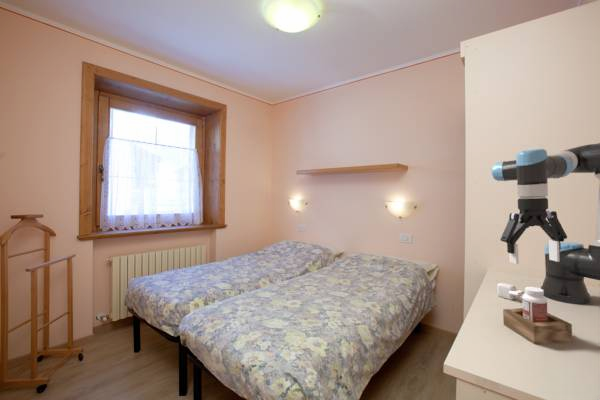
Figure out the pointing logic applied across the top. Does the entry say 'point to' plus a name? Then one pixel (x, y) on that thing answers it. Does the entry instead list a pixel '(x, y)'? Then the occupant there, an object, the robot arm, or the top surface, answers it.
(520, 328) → the wooden box
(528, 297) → the pill bottle
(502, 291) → the power adapter
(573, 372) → the top surface
